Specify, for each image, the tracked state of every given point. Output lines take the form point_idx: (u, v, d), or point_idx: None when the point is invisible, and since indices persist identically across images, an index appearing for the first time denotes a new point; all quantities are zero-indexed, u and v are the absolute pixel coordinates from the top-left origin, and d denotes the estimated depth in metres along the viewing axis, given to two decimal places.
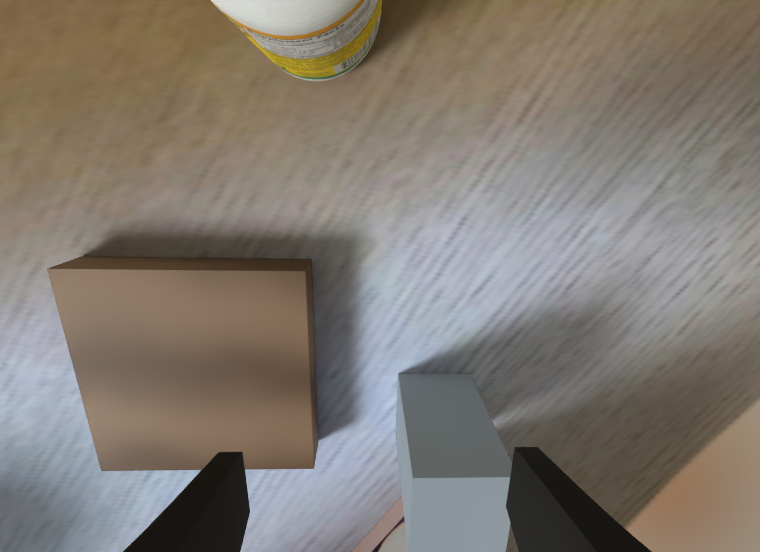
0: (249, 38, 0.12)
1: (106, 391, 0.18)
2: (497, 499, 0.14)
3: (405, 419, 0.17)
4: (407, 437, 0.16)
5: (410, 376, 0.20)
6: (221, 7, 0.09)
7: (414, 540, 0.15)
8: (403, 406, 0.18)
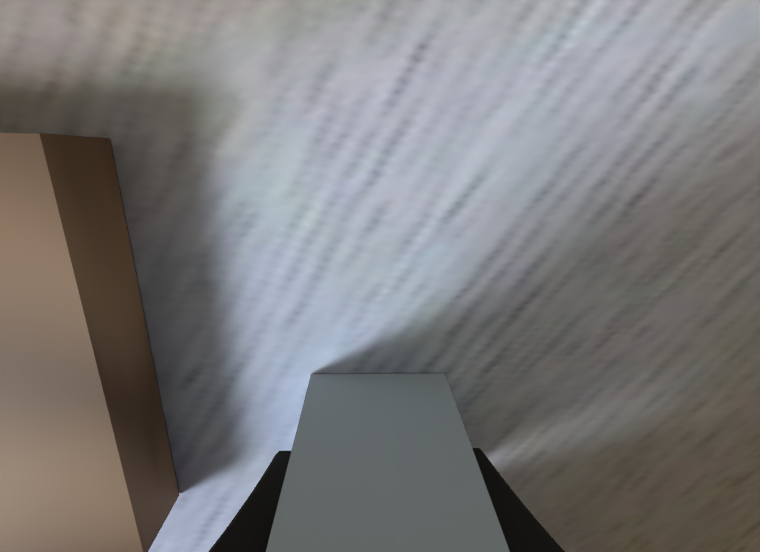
0: None
1: None
2: None
3: (286, 478, 0.07)
4: (273, 531, 0.06)
5: (332, 379, 0.11)
6: None
7: None
8: (295, 444, 0.08)
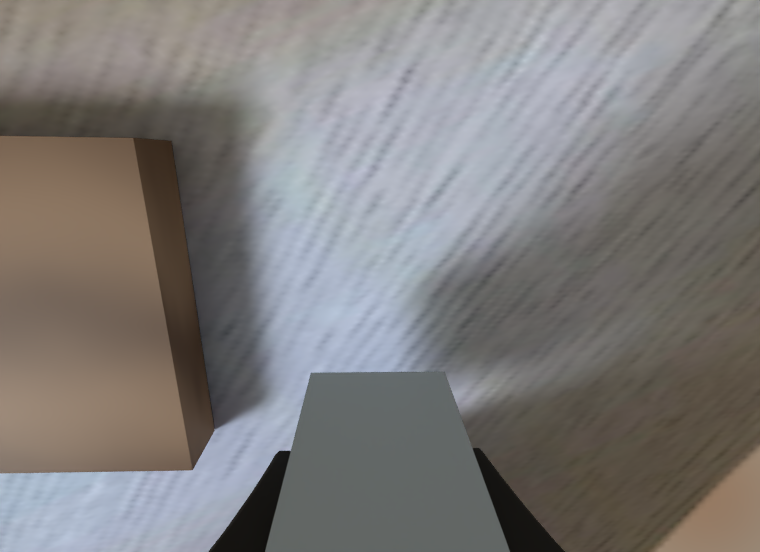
0: None
1: None
2: None
3: (286, 475, 0.07)
4: (273, 528, 0.06)
5: (332, 378, 0.11)
6: None
7: None
8: (295, 442, 0.08)
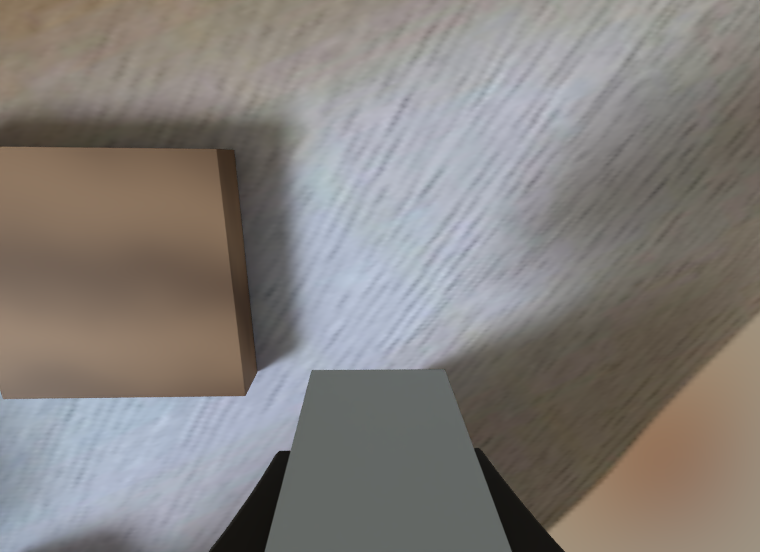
0: None
1: None
2: None
3: (287, 471, 0.08)
4: (274, 523, 0.07)
5: (332, 375, 0.11)
6: None
7: None
8: (296, 438, 0.08)
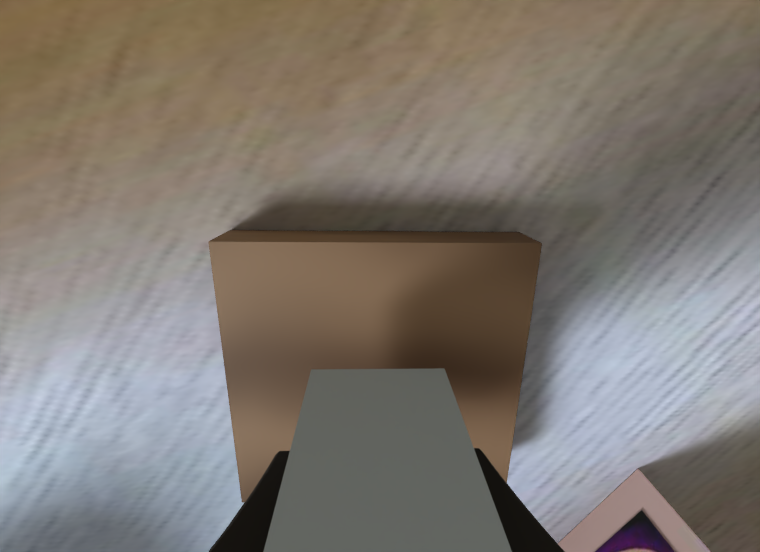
0: None
1: (262, 402, 0.14)
2: None
3: (286, 470, 0.08)
4: (273, 522, 0.06)
5: (332, 374, 0.11)
6: None
7: None
8: (295, 437, 0.08)
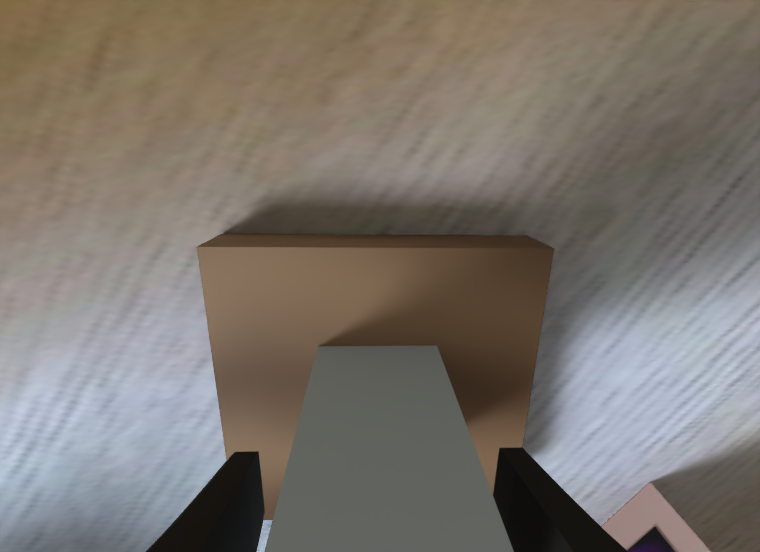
0: None
1: (255, 416, 0.13)
2: None
3: (299, 423, 0.09)
4: (290, 459, 0.08)
5: (336, 350, 0.12)
6: None
7: None
8: (305, 399, 0.10)
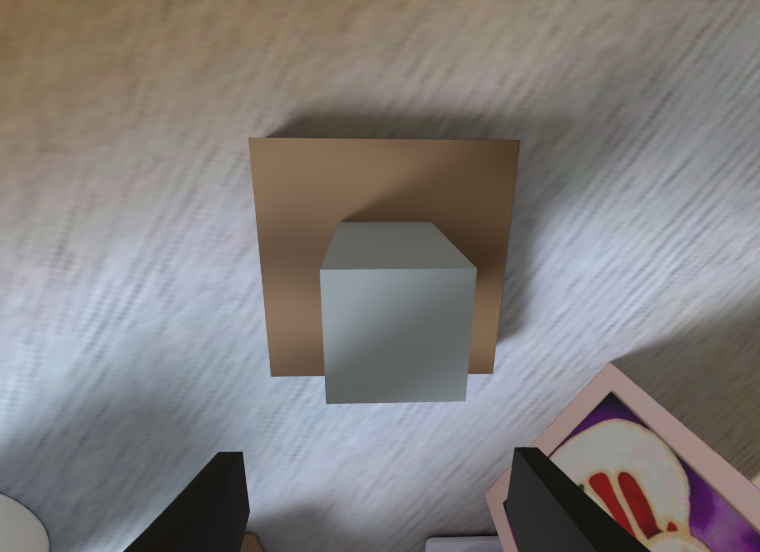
0: None
1: (290, 283, 0.17)
2: (448, 308, 0.10)
3: (332, 241, 0.12)
4: (329, 250, 0.11)
5: (353, 223, 0.16)
6: None
7: (333, 379, 0.10)
8: (334, 236, 0.13)
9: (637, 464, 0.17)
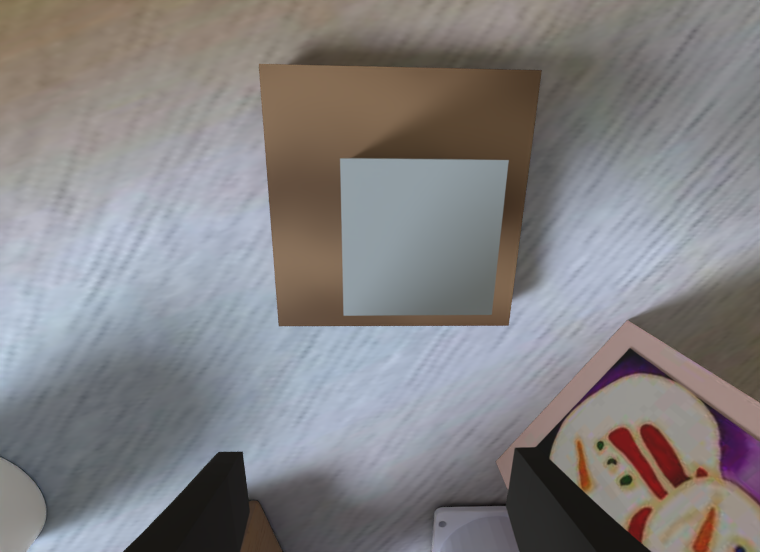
0: None
1: (299, 224, 0.16)
2: (476, 206, 0.09)
3: None
4: None
5: None
6: None
7: (351, 286, 0.10)
8: None
9: (661, 416, 0.16)
